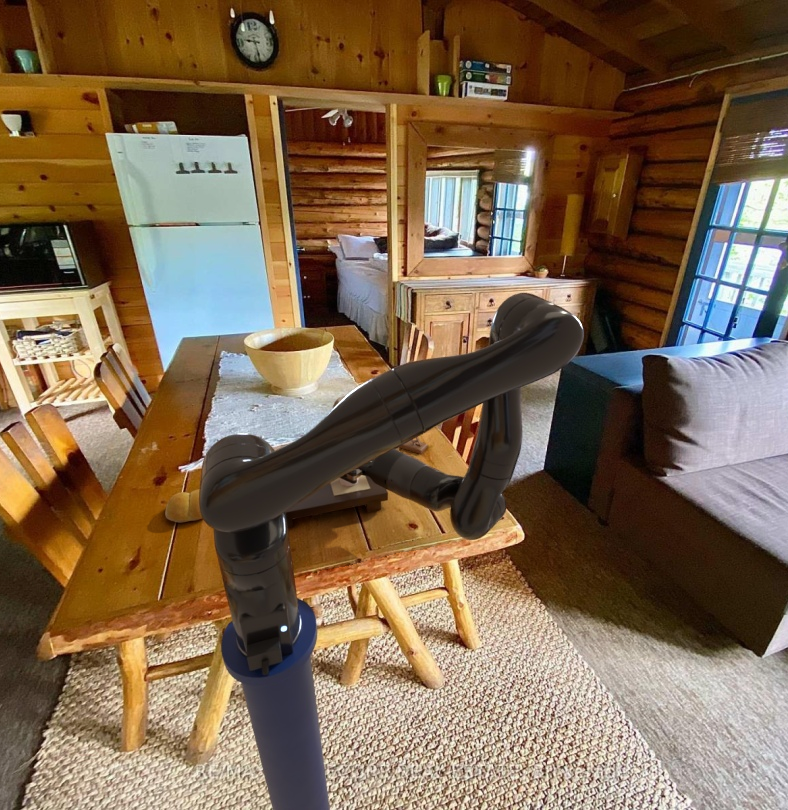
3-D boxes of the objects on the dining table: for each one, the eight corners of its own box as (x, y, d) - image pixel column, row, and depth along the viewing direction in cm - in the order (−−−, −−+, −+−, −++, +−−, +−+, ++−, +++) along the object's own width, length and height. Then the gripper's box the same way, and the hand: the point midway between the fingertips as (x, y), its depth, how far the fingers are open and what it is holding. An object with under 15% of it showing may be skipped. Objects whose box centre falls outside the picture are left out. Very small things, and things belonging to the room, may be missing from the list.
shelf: (388, 507, 93) (388, 492, 91) (269, 531, 86) (266, 515, 84) (373, 475, 103) (373, 460, 101) (266, 494, 96) (264, 478, 94)
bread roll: (214, 518, 89) (211, 503, 87) (165, 528, 86) (160, 512, 84) (216, 494, 95) (213, 479, 94) (171, 501, 93) (166, 486, 91)
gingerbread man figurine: (390, 444, 115) (390, 403, 110) (397, 438, 118) (398, 398, 113) (420, 454, 112) (422, 412, 106) (427, 446, 115) (429, 406, 109)
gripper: (424, 441, 86) (363, 416, 95) (376, 475, 76) (312, 443, 84) (423, 473, 89) (364, 446, 98) (376, 509, 79) (315, 475, 88)
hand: (340, 444), depth 91 cm, fingers open, 8 cm apart
